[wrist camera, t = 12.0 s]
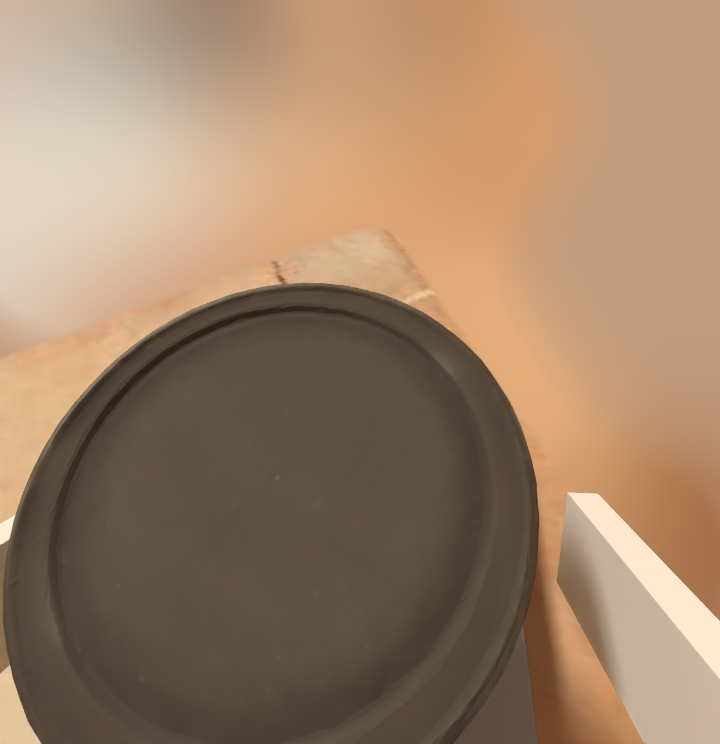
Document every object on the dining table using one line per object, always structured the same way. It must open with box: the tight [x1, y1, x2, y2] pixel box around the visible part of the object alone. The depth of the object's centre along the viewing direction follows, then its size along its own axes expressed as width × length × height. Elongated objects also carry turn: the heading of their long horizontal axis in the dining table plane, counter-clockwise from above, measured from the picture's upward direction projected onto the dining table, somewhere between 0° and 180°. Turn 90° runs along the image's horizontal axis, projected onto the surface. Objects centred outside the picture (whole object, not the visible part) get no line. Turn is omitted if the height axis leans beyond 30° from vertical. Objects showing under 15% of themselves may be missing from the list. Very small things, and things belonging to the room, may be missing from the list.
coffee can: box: [3, 283, 539, 744], centre depth 14 cm, size 10×10×14 cm
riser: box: [453, 626, 538, 744], centre depth 21 cm, size 16×14×4 cm
